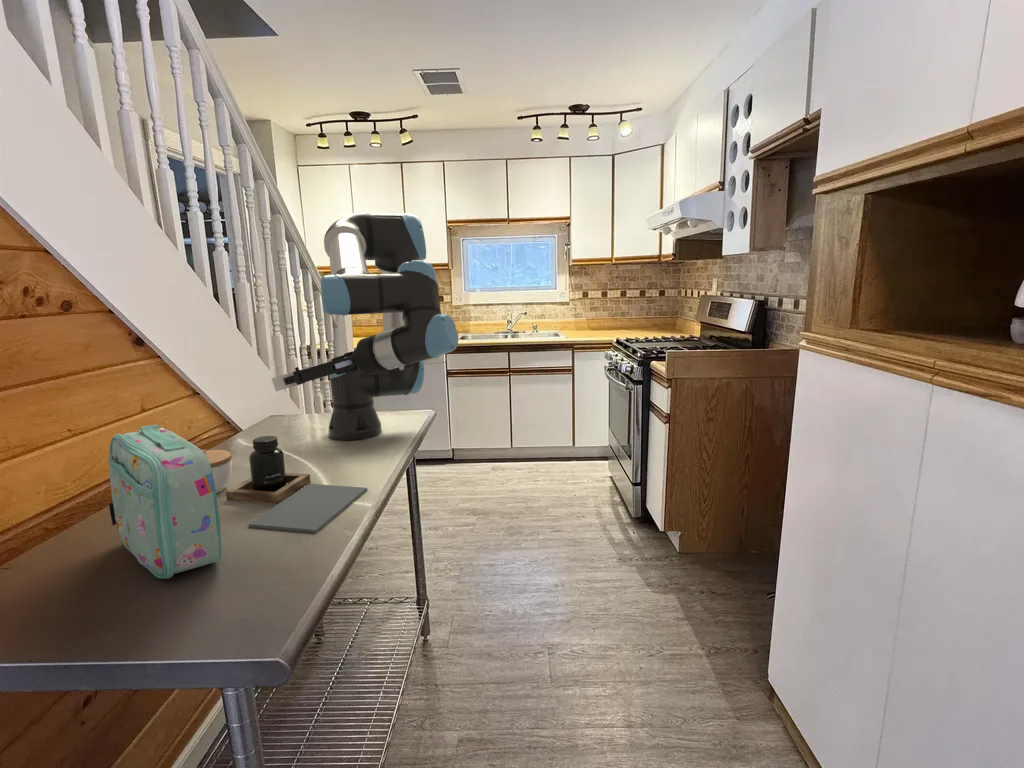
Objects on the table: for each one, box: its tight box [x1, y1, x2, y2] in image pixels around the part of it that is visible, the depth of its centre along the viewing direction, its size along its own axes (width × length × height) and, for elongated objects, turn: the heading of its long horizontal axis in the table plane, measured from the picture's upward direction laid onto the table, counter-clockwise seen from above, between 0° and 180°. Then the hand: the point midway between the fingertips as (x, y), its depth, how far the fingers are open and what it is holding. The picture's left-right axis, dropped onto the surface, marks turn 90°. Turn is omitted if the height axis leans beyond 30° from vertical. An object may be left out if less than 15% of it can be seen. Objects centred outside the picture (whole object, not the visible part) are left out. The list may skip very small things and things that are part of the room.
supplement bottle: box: [248, 435, 287, 492], centre depth 116 cm, size 7×7×12 cm
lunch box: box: [108, 424, 222, 580], centre depth 89 cm, size 27×10×21 cm, turn 50°
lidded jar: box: [201, 449, 233, 494], centre depth 117 cm, size 11×11×9 cm
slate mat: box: [248, 483, 368, 534], centre depth 108 cm, size 20×14×1 cm
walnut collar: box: [225, 472, 312, 505], centre depth 117 cm, size 12×12×2 cm
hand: (296, 378), depth 112 cm, fingers open, 13 cm apart
